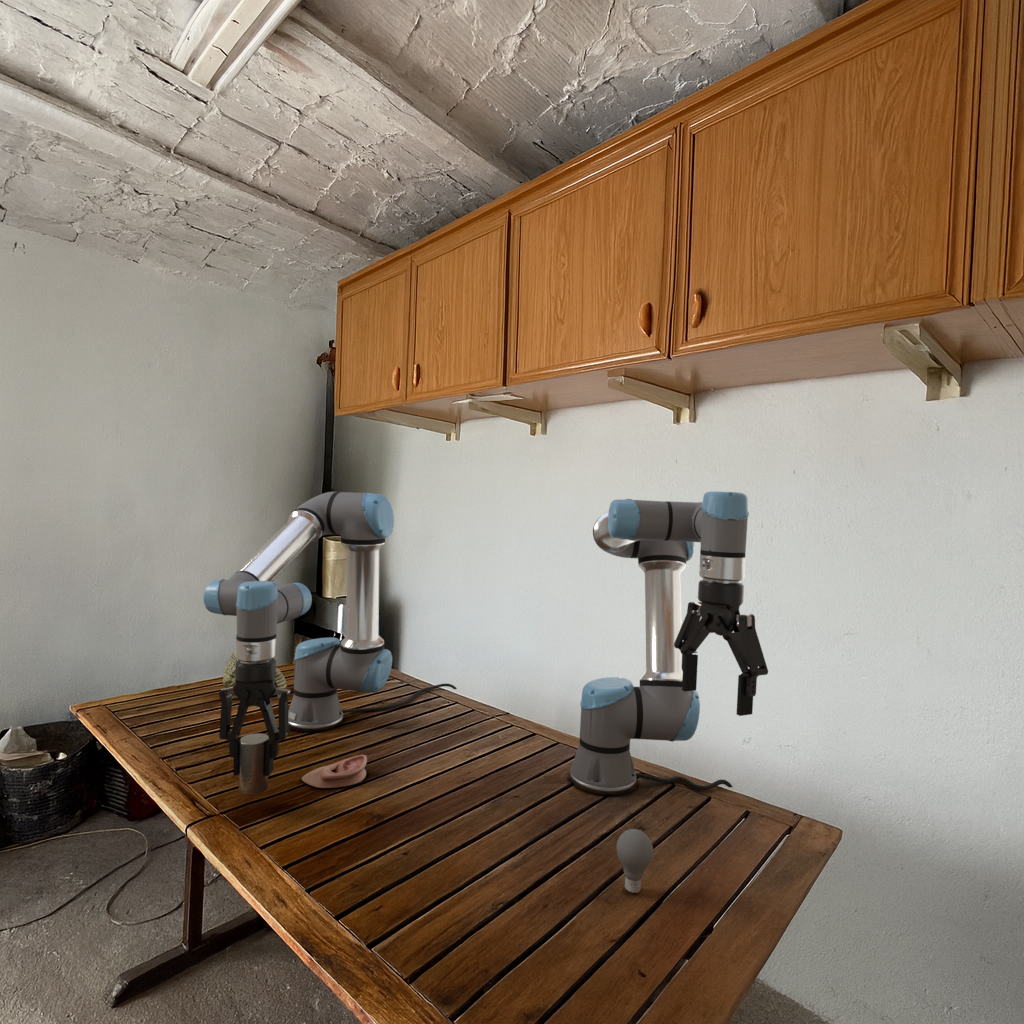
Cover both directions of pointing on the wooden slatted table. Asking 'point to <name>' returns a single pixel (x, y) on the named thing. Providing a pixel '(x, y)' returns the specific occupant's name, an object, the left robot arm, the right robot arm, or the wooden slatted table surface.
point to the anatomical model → (338, 773)
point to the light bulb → (634, 857)
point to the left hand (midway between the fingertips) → (253, 772)
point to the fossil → (230, 675)
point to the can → (252, 764)
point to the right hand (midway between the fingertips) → (715, 701)
